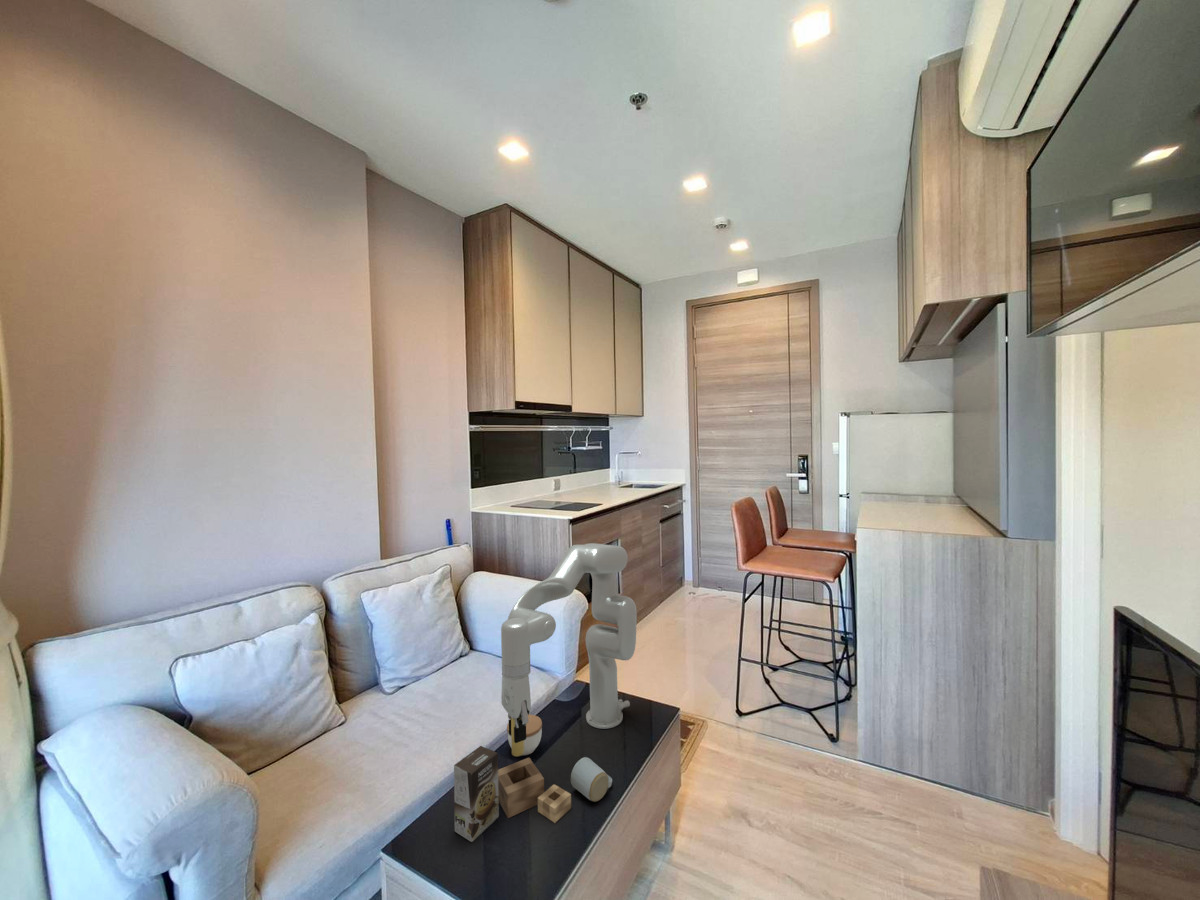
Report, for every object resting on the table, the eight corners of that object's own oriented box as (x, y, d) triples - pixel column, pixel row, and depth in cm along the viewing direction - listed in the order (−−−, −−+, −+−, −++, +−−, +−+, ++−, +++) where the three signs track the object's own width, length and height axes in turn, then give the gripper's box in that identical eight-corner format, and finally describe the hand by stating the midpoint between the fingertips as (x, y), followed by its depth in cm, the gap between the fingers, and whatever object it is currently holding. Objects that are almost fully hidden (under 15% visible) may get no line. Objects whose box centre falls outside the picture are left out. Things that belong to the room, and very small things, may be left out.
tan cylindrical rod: (510, 751, 121) (509, 700, 121) (521, 747, 123) (520, 696, 123) (514, 757, 118) (513, 705, 119) (525, 753, 120) (524, 701, 120)
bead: (529, 778, 127) (529, 757, 127) (544, 801, 119) (543, 778, 119) (494, 793, 122) (494, 771, 122) (508, 818, 114) (507, 794, 114)
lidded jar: (546, 738, 145) (545, 709, 145) (538, 761, 135) (537, 729, 135) (513, 737, 146) (512, 708, 147) (502, 759, 136) (502, 728, 136)
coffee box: (472, 843, 107) (470, 774, 107) (453, 832, 110) (452, 764, 110) (500, 816, 114) (498, 752, 114) (482, 806, 118) (480, 744, 118)
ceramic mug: (590, 809, 116) (590, 779, 116) (570, 793, 122) (569, 764, 122) (619, 788, 123) (619, 759, 123) (598, 773, 129) (598, 746, 129)
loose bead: (554, 797, 120) (554, 784, 120) (571, 807, 116) (570, 794, 117) (537, 811, 116) (537, 797, 116) (554, 823, 112) (554, 808, 112)
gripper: (492, 659, 126) (493, 726, 126) (513, 683, 112) (515, 759, 112) (518, 653, 130) (519, 717, 130) (541, 675, 116) (543, 748, 116)
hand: (517, 736), depth 121 cm, fingers closed on tan cylindrical rod, 3 cm apart
